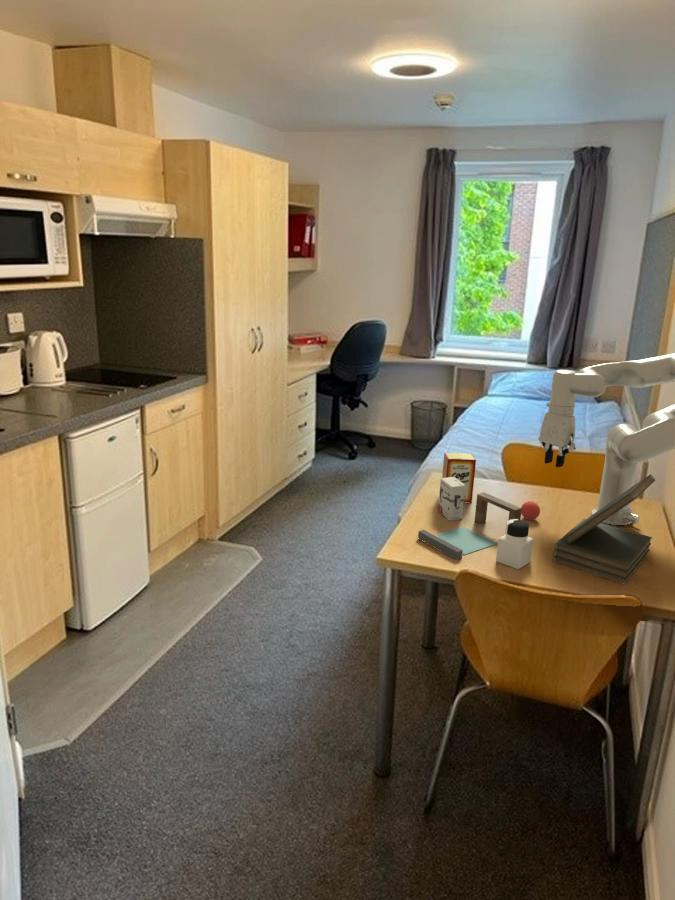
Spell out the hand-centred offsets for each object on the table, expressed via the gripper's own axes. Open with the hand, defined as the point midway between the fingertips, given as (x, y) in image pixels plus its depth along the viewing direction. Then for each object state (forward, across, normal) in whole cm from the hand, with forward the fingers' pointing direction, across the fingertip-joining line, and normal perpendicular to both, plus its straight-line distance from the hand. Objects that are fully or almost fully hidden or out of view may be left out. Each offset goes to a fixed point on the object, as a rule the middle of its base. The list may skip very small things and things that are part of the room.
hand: (553, 464), depth 209 cm
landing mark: (+17, 0, -39) cm, 43 cm away
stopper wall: (+17, 0, -49) cm, 52 cm away
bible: (+18, +29, -14) cm, 37 cm away
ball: (+14, 0, -9) cm, 17 cm away
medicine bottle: (+17, +17, -37) cm, 44 cm away
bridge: (+17, 0, -25) cm, 30 cm away
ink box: (+17, -16, -29) cm, 37 cm away
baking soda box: (+17, -25, -17) cm, 35 cm away
